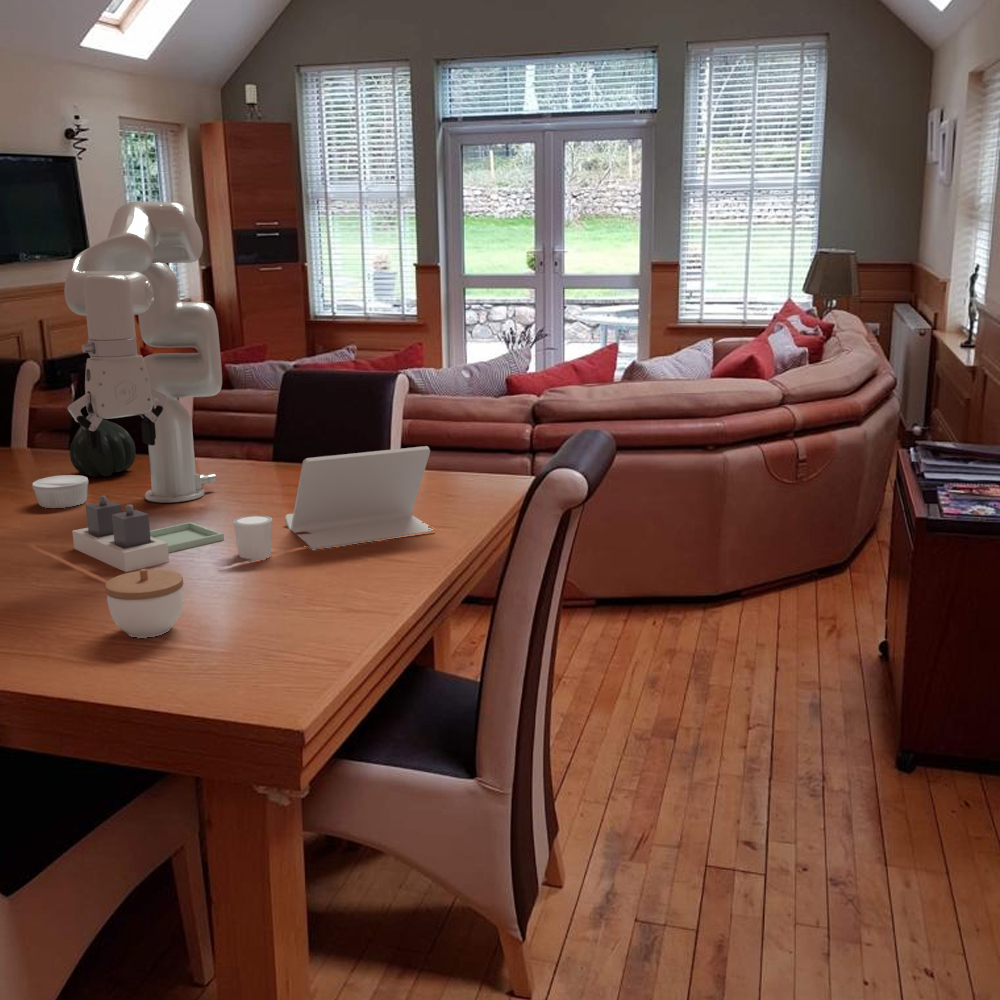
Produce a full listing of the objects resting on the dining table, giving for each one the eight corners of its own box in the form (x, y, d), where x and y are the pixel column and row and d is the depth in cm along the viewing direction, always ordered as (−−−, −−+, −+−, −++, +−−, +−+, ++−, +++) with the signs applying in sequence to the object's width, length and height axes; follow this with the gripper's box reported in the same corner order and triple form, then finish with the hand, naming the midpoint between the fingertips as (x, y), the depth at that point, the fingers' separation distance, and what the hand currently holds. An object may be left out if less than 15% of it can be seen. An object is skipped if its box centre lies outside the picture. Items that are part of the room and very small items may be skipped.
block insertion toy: (116, 542, 197) (110, 488, 194) (169, 564, 183) (164, 506, 181) (74, 551, 191) (68, 495, 189) (126, 575, 178) (120, 515, 175)
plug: (152, 558, 184) (147, 505, 182) (128, 563, 181) (122, 510, 178) (139, 553, 187) (135, 501, 185) (116, 558, 184) (110, 505, 181)
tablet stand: (437, 534, 202) (435, 448, 198) (312, 552, 191) (307, 461, 187) (401, 513, 218) (399, 433, 214) (284, 528, 207) (279, 444, 203)
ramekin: (37, 513, 219) (34, 488, 218) (32, 501, 228) (30, 478, 227) (93, 506, 224) (91, 482, 223) (87, 495, 234) (84, 472, 232)
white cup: (281, 553, 190) (279, 516, 188) (261, 564, 183) (259, 526, 182) (249, 550, 192) (246, 513, 190) (227, 560, 186) (225, 522, 184)
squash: (154, 450, 255) (122, 402, 257) (103, 464, 243) (69, 413, 245) (130, 483, 263) (99, 435, 265) (79, 497, 251) (47, 448, 253)
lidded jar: (121, 619, 157) (115, 559, 155) (193, 616, 158) (189, 557, 156) (100, 646, 147) (94, 582, 145) (178, 643, 148) (173, 580, 146)
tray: (191, 530, 205) (190, 522, 204) (224, 542, 196) (223, 533, 196) (133, 543, 196) (132, 534, 196) (165, 556, 188) (164, 547, 188)
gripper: (73, 355, 168) (84, 459, 172) (171, 346, 180) (179, 444, 184) (53, 351, 173) (64, 453, 177) (150, 343, 185) (158, 438, 189)
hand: (123, 448), depth 180 cm, fingers open, 9 cm apart
